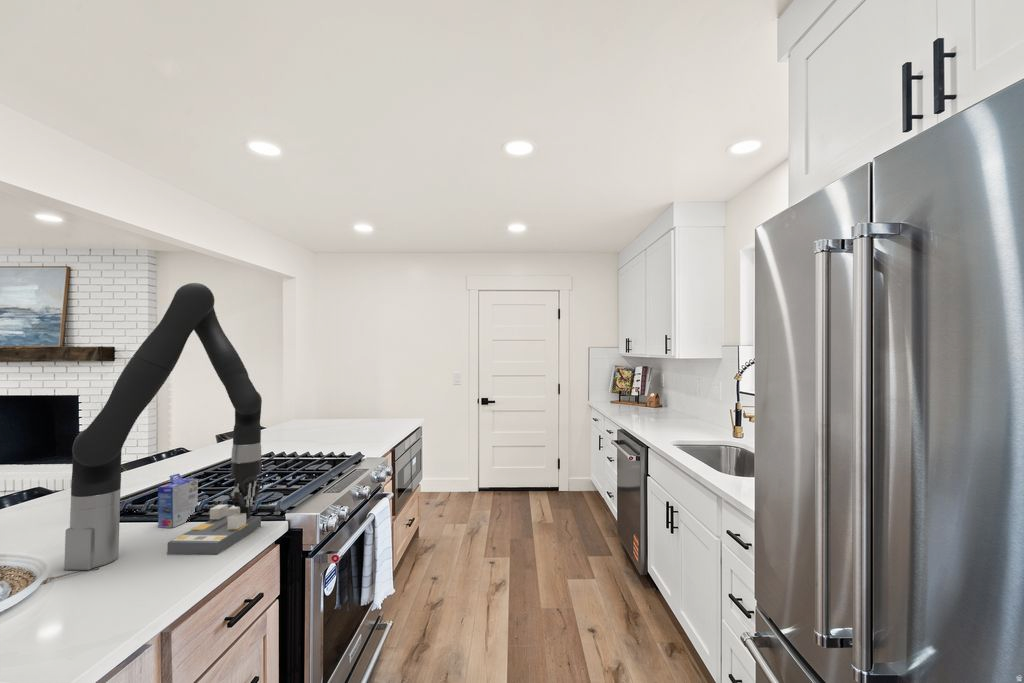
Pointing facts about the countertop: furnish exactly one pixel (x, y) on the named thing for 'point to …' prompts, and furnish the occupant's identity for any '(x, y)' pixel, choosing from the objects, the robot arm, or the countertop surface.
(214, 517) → the tab
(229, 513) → the middle tab
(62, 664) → the countertop surface
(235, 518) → the tab
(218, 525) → the switch board
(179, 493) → the ink cartridge box
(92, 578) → the countertop surface
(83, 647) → the countertop surface
